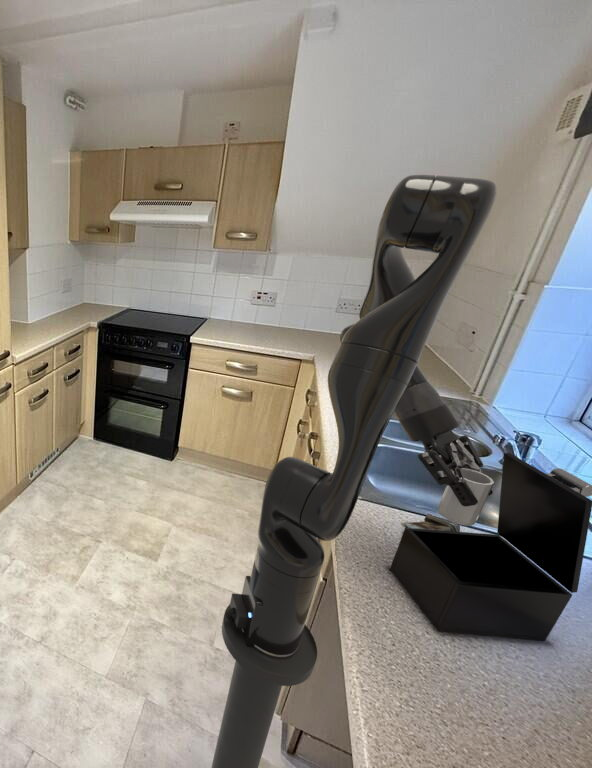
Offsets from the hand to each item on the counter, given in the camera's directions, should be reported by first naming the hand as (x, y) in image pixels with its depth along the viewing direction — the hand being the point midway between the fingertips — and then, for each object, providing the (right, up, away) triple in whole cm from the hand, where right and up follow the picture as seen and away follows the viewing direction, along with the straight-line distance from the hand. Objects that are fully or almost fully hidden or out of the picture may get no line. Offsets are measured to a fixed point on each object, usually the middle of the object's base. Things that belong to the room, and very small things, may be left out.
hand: (478, 499), depth 71 cm
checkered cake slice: (+7, -14, +20) cm, 25 cm away
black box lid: (+6, -2, -3) cm, 8 cm away
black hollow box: (+1, -20, +4) cm, 20 cm away
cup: (-1, -4, +3) cm, 5 cm away
